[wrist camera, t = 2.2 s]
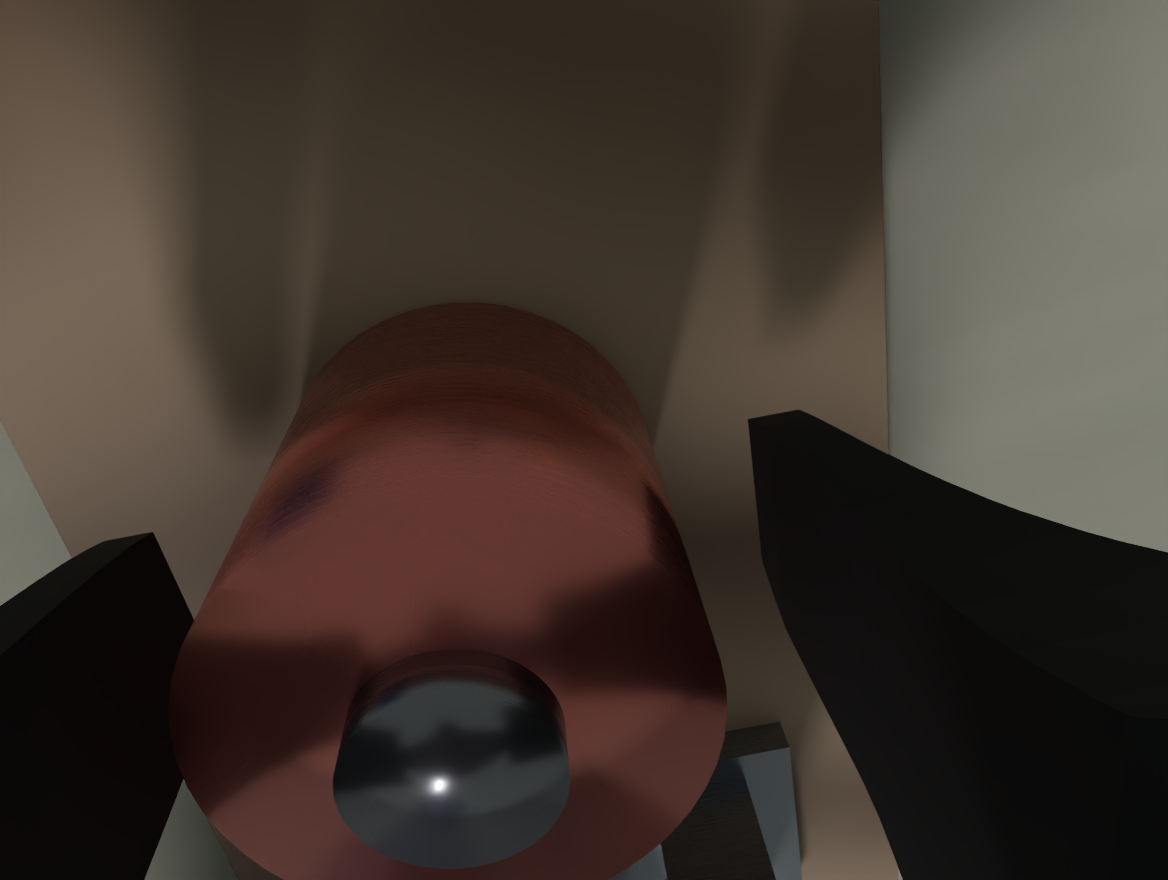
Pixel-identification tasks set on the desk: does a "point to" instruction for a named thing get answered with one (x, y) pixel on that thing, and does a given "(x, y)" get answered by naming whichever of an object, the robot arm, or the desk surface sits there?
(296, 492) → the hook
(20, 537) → the desk surface
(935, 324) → the desk surface
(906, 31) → the desk surface
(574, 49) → the board
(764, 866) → the slotted metal block
